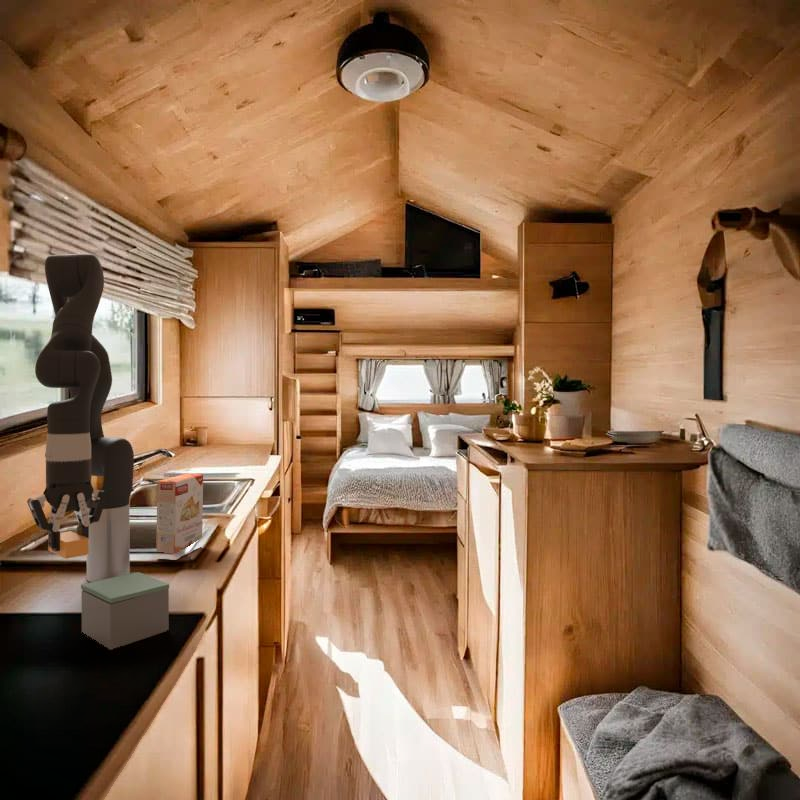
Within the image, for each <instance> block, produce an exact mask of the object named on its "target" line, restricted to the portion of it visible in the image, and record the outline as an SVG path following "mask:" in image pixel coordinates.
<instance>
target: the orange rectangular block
mask: <svg viewBox="0 0 800 800" xmlns="http://www.w3.org/2000/svg"><path fill="white" fill-rule="evenodd" d="M47 546H48V547H47V551H49V552H51V553H53V554H55V555H57V556H59V557H62V558H63V559H65V560H67V559H72V558H76V557H82V556H87V554H89V538H87V537H84V536H81V535H79V534H77V532H74V531H70V530H69V531H64V532H60V551H56V552H55V551H53V550H52V549H51V548H49V545H48V544H47Z"/></svg>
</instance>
